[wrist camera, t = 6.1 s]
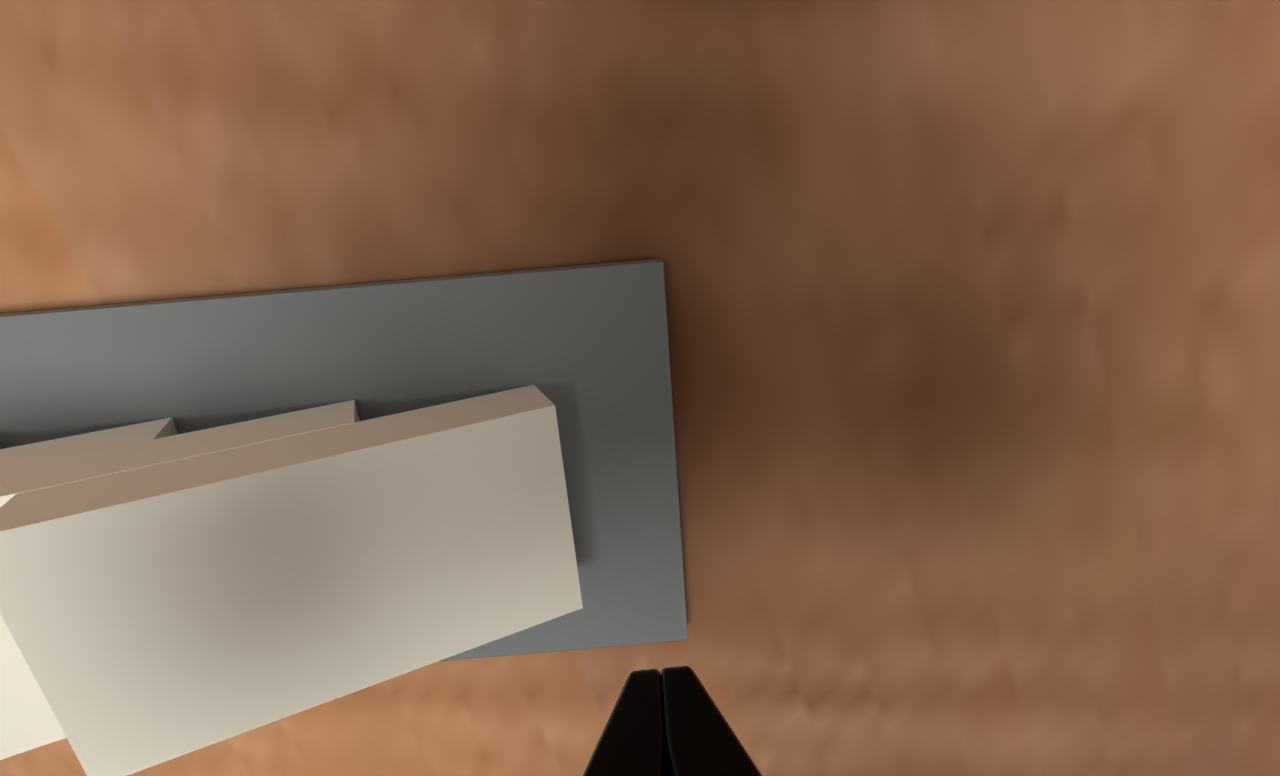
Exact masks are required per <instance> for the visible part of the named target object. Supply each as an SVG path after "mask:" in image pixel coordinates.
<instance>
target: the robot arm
mask: <svg viewBox="0 0 1280 776" xmlns="http://www.w3.org/2000/svg"><path fill="white" fill-rule="evenodd" d="M583 776H762V775H761V773H760V772H759V770H758V769H757V767H756V766H755V764H754V763H753V761H752V760H751V758H750V756H749V755H748V753H747V752H746V750H745V749H744V747H743V746H742V744H741V743H740V741H739V740H738V738H737V737H736V735H735V734H734V732H733V731H732V729H731V728H730V726H729V725H728V723H727V722H726V720H725V718H724V717H723V715H722V714H721V712H720V711H719V709H718V708H717V706H716V705H715V703H714V702H713V700H712V699H711V697H710V696H709V694H708V693H707V691H706V690H705V688H704V687H703V685H702V683H701V682H700V680H699V679H698V677H697V676H696V674H695V673H694V671H693V670H692V669H691V668H690V667H688V666H681V667H670V668H664V669H663V670H662V671H661V675H660V672H659V671H658V670H657V669H650V670H641V671H633V672H632V673H630V675H629V676H628V678H627V680H626V682H625V685H624V687H623V689H622V691H621V693H620V696H619V698H618V700H617V702H616V704H615V707H614V709H613V711H612V713H611V715H610V717H609V720H608V722H607V724H606V726H605V728H604V731H603V733H602V735H601V737H600V739H599V742H598V744H597V746H596V748H595V750H594V752H593V755H592V757H591V759H590V761H589V763H588V766H587V768H586V770H585V772H584V774H583Z"/></svg>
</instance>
